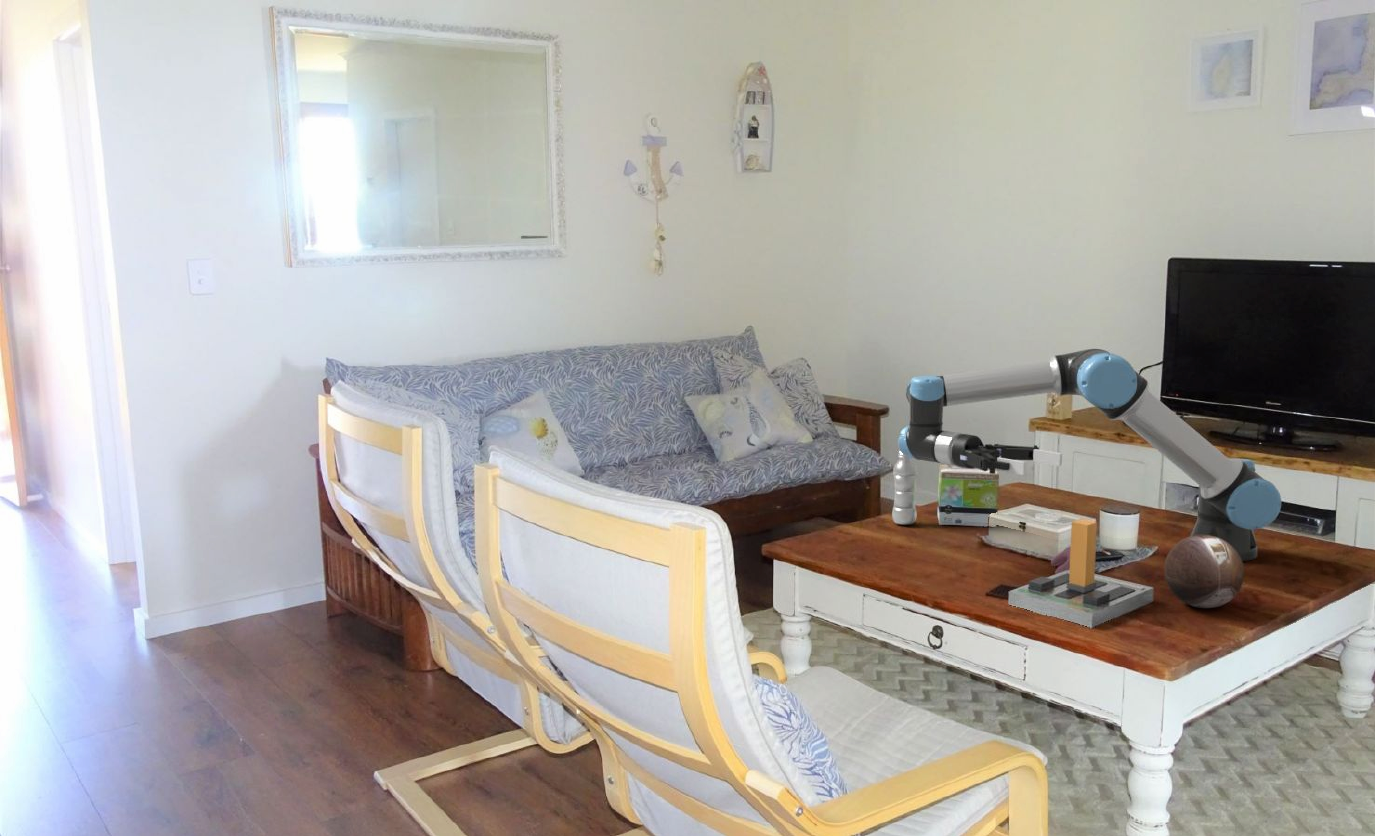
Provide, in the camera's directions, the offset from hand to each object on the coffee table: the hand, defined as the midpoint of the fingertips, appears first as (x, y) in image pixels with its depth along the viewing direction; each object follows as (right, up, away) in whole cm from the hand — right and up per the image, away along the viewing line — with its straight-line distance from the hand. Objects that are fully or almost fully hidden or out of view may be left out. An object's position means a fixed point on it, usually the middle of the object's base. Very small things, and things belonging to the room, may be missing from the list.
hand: (1043, 464), depth 242 cm
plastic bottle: (-17, -19, +63) cm, 68 cm away
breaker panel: (+7, -29, -3) cm, 30 cm away
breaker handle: (+7, -26, -3) cm, 27 cm away
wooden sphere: (+31, -29, -6) cm, 43 cm away
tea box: (0, -18, +64) cm, 67 cm away
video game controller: (+11, -26, +19) cm, 34 cm away
